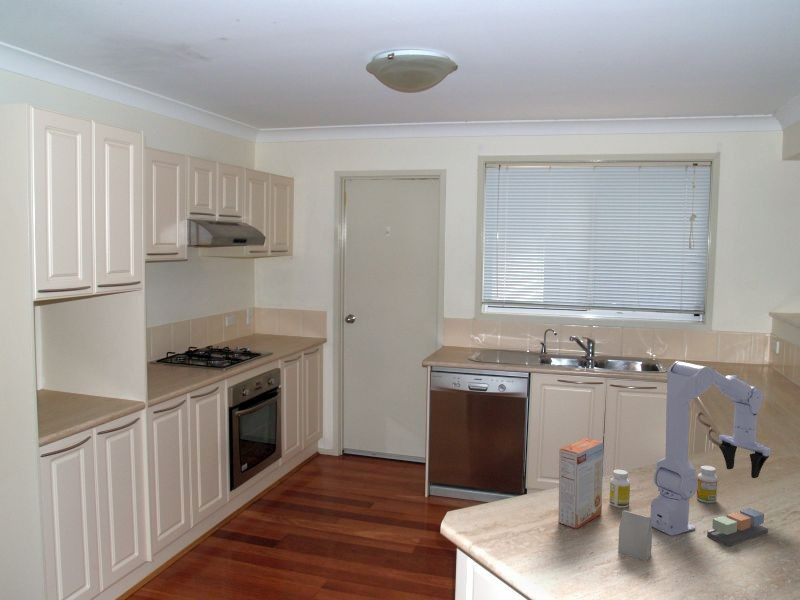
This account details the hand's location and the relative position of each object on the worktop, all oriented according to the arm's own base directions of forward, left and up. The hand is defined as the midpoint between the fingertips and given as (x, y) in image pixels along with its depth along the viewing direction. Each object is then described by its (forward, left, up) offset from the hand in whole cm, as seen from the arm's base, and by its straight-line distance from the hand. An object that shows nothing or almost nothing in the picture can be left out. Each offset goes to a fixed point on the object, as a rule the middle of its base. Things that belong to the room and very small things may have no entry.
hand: (742, 473), depth 184 cm
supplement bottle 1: (-30, +17, -10) cm, 36 cm away
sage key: (-22, -11, -8) cm, 26 cm away
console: (-17, -11, -10) cm, 23 cm away
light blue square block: (-12, -11, -8) cm, 18 cm away
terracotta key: (-17, -11, -8) cm, 22 cm away
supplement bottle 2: (-4, +8, -10) cm, 14 cm away
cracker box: (-47, +15, -10) cm, 50 cm away
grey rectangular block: (-49, -6, -10) cm, 50 cm away
